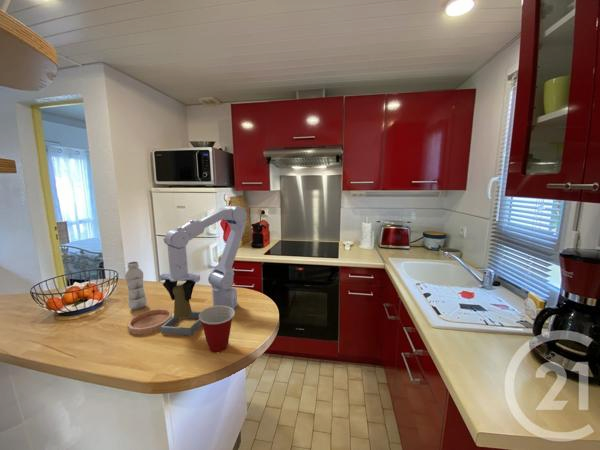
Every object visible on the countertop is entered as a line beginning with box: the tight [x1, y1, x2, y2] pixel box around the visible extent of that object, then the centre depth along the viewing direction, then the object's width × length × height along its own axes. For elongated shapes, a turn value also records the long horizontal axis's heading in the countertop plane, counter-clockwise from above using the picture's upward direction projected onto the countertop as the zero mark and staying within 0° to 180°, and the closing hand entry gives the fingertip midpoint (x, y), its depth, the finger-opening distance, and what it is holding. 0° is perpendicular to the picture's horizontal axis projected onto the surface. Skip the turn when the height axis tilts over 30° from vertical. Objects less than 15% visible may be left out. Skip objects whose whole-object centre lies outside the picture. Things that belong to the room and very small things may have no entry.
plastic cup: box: [199, 306, 236, 354], centre depth 76 cm, size 11×11×12 cm
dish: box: [127, 308, 173, 336], centre depth 90 cm, size 14×14×2 cm
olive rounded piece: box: [173, 283, 192, 319], centre depth 87 cm, size 6×6×11 cm
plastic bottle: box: [124, 261, 148, 311], centre depth 100 cm, size 6×7×20 cm
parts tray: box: [160, 310, 202, 337], centre depth 89 cm, size 11×11×2 cm
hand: (181, 299), depth 87 cm, fingers closed on olive rounded piece, 5 cm apart
